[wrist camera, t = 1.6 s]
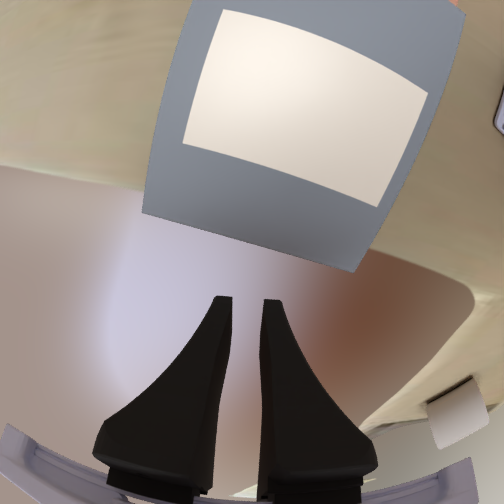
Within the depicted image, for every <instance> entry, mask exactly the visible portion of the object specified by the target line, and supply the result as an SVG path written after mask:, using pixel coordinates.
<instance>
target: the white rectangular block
mask: <svg viewBox="0 0 504 504" xmlns="http://www.w3.org/2000/svg"><path fill="white" fill-rule="evenodd" d="M427 95H428V93H427V92H425V91H424V90H422V89H421V88H419V87H418V86H416V85H415V84H413V83H412V82H410V81H409V80H407V79H405V78H404V77H402V76H400V75H399V74H397V73H395V72H393V71H392V70H390V69H388V68H386V67H385V66H383V65H381V64H379V63H377V62H375V61H373V60H371V59H369V58H368V57H366V56H364V55H361V54H359V53H357V52H355V51H353V50H351V49H349V48H347V47H344V46H342V45H340V44H337V43H335V42H333V41H330V40H328V39H325V38H323V37H320V36H318V35H315V34H312V33H310V32H307V31H304V30H301V29H298V28H295V27H292V26H289V25H286V24H283V23H279V22H276V21H272V20H269V19H265V18H261V17H257V16H253V15H249V14H245V13H240V12H235V11H230V10H225V9H223V12H222V14H221V17H220V19H219V22H218V25H217V28H216V30H215V33H214V36H213V39H212V42H211V45H210V48H209V51H208V54H207V57H206V60H205V63H204V66H203V69H202V72H201V76H200V79H199V82H198V86H197V89H196V93H195V96H194V100H193V103H192V107H191V111H190V115H189V118H188V122H187V126H186V130H185V134H184V139H183V144H188V145H192V146H196V147H200V148H203V149H207V150H211V151H215V152H218V153H222V154H226V155H229V156H233V157H236V158H240V159H243V160H246V161H250V162H253V163H256V164H260V165H263V166H266V167H269V168H272V169H275V170H278V171H281V172H285V173H287V174H290V175H293V176H296V177H299V178H302V179H305V180H308V181H311V182H313V183H316V184H319V185H322V186H324V187H327V188H330V189H332V190H335V191H338V192H340V193H343V194H345V195H348V196H350V197H353V198H356V199H358V200H360V201H363V202H365V203H368V204H370V205H373V206H375V207H377V206H378V204H379V202H380V200H381V198H382V196H383V194H384V192H385V190H386V188H387V186H388V184H389V182H390V180H391V178H392V176H393V174H394V172H395V170H396V168H397V166H398V163H399V161H400V159H401V157H402V155H403V153H404V150H405V148H406V146H407V144H408V141H409V139H410V137H411V134H412V132H413V130H414V127H415V125H416V123H417V120H418V118H419V115H420V113H421V110H422V108H423V105H424V103H425V100H426V97H427Z"/></svg>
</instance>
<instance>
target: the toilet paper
mask: <svg viewBox="0 0 504 504" xmlns="http://www.w3.org/2000/svg"><path fill="white" fill-rule="evenodd" d="M426 410H427V415H428V420H429V424H430V427H431V431H432V434H433V437H434V439H435V442H436V445H437V447H438V448H439V449H443V448H445V447H447V446H449V445H451V444H453V443H455V442H457V441H459V440H461V439H463V438H465V437H466V436H468V435H470V434H472V433H474V432H475V431H477V430H479V429H480V428H482V427H484V426H485V425H487V424H489V417H488V413H487V410H486V406H485V403H484V400H483V398H482V395H481V392H480V390H479V387H478V385H477V383H476V381H475V379H474V378H472V379H471V380H469V381H467V382H466V383H464V384H463V385H461V386H459V387H458V388H456V389H454V390H453V391H451V392H449V393H447V394H446V395H444V396H442V397H440V398H438V399H437V400H435V401H433V402H431V403H429V404H427V405H426Z"/></svg>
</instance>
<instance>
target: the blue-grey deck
mask: <svg viewBox="0 0 504 504" xmlns="http://www.w3.org/2000/svg"><path fill="white" fill-rule="evenodd" d="M223 9H225V10H230V11H235V12H240V13H245V14H249V15H253V16H257V17H261V18H265V19H269V20H272V21H276V22H279V23H283V24H286V25H289V26H292V27H295V28H298V29H301V30H304V31H307V32H310V33H312V34H315V35H318V36H320V37H323V38H325V39H328V40H330V41H333V42H335V43H337V44H340V45H342V46H344V47H347V48H349V49H351V50H353V51H355V52H357V53H359V54H361V55H364V56H366V57H368V58H369V59H371V60H373V61H375V62H377V63H379V64H381V65H383V66H385V67H386V68H388V69H390V70H392V71H393V72H395V73H397V74H399V75H400V76H402V77H404V78H405V79H407V80H409V81H410V82H412V83H413V84H415V85H416V86H418V87H419V88H421V89H422V90H424V91H425V92H427V93H428V95H427V97H426V100H425V103H424V105H423V108H422V110H421V113H420V115H419V118H418V120H417V123H416V125H415V127H414V130H413V132H412V134H411V137H410V139H409V141H408V144H407V146H406V148H405V150H404V153H403V155H402V157H401V159H400V161H399V163H398V166H397V168H396V170H395V172H394V174H393V176H392V178H391V180H390V182H389V184H388V186H387V188H386V190H385V192H384V194H383V196H382V198H381V200H380V202H379V204H378V206H377V207H375V206H373V205H370V204H368V203H365V202H363V201H360V200H358V199H356V198H353V197H350V196H348V195H345V194H343V193H340V192H338V191H335V190H332V189H330V188H327V187H324V186H322V185H319V184H316V183H313V182H311V181H308V180H305V179H302V178H299V177H296V176H293V175H290V174H287V173H285V172H281V171H278V170H275V169H272V168H269V167H266V166H263V165H260V164H256V163H253V162H250V161H246V160H243V159H240V158H236V157H233V156H229V155H226V154H222V153H218V152H215V151H211V150H207V149H203V148H200V147H196V146H192V145H188V144H183V139H184V134H185V130H186V126H187V122H188V118H189V115H190V111H191V107H192V103H193V100H194V96H195V93H196V89H197V86H198V82H199V79H200V76H201V72H202V69H203V66H204V63H205V60H206V57H207V54H208V51H209V48H210V45H211V42H212V39H213V36H214V33H215V30H216V28H217V25H218V22H219V19H220V17H221V14H222V12H223ZM465 17H466V14H465V13H464V12H462V11H461V10H460V9H459V8H458V7H456V6H455V5H454V4H453V3H451V2H450V1H449V0H193V1H192V4H191V6H190V9H189V12H188V14H187V17H186V20H185V23H184V26H183V28H182V31H181V34H180V37H179V40H178V43H177V46H176V50H175V53H174V56H173V60H172V63H171V66H170V70H169V73H168V77H167V81H166V85H165V88H164V92H163V96H162V100H161V105H160V109H159V113H158V118H157V122H156V127H155V132H154V137H153V142H152V147H151V153H150V159H149V164H148V171H147V177H146V184H145V191H144V199H143V206H142V213H144V214H148V215H152V216H155V217H159V218H163V219H166V220H169V221H173V222H177V223H180V224H184V225H187V226H191V227H194V228H198V229H201V230H205V231H209V232H212V233H216V234H220V235H223V236H226V237H230V238H234V239H237V240H240V241H244V242H247V243H251V244H255V245H258V246H261V247H265V248H268V249H272V250H275V251H279V252H282V253H286V254H289V255H293V256H296V257H300V258H303V259H307V260H310V261H313V262H317V263H320V264H324V265H327V266H331V267H334V268H337V269H341V270H344V271H348V272H351V273H354V271H355V270H356V268H357V267H358V265H359V263H360V262H361V260H362V259H363V257H364V255H365V254H366V252H367V250H368V248H369V247H370V245H371V243H372V242H373V240H374V238H375V236H376V235H377V233H378V231H379V229H380V228H381V226H382V224H383V222H384V220H385V218H386V217H387V215H388V213H389V211H390V209H391V207H392V205H393V204H394V202H395V200H396V198H397V196H398V194H399V192H400V190H401V188H402V186H403V184H404V182H405V180H406V178H407V176H408V174H409V172H410V170H411V168H412V165H413V163H414V161H415V159H416V157H417V155H418V152H419V150H420V148H421V146H422V144H423V141H424V139H425V137H426V134H427V132H428V130H429V127H430V125H431V122H432V120H433V117H434V115H435V112H436V110H437V107H438V105H439V102H440V99H441V97H442V94H443V91H444V88H445V85H446V83H447V80H448V77H449V74H450V71H451V68H452V64H453V61H454V58H455V55H456V51H457V48H458V44H459V41H460V37H461V33H462V29H463V25H464V21H465Z"/></svg>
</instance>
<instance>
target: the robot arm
mask: <svg viewBox="0 0 504 504" xmlns="http://www.w3.org/2000/svg"><path fill="white" fill-rule="evenodd" d="M502 125H503V128H502ZM495 126H496V128H497V129H498V130H499V131H500V132H501V133H502V134H503V135H504V92H503V96H502V99H501V102H500V105H499V109H498V112H497V115H496V117H495ZM231 336H232V297H228V296H216V297H214V299H213V302H212V304H211V306H210V308H209V310H208V312H207V313H206V315H205V317H204V319H203V320H202V322H201V324H200V325H199V327H198V328H197V330H196V331H195V333H194V334H193V336H192V338H191V339H190V340H189V341H188V343H187V344H186V346H185V347H184V348H183V350H182V351H181V352H180V354H179V355H178V356H177V357H176V358H175V360H174V361H173V362H172V363H171V365H170V366H169V367H168V368H167V369H166V370H165V371H164V372H163V373H162V374H161V375H160V376H159V377H158V378H157V379H156V380H155V381H154V382H153V383H152V384H151V385H150V386H149V387H148V388H147V389H146V390H145V391H143V392H142V393H141V394H140V395H139V396H138V397H136V398H135V399H134V400H133V401H132V402H130V403H129V404H128V405H127V406H125V407H124V408H122V409H121V410H120V411H118V412H117V413H115V414H114V415H112V416H111V417H109V418H108V419H107V420H105V421H104V423H103V425H102V426H101V428H100V431H99V433H98V435H97V438H96V441H95V445H94V448H93V452H92V454H93V456H94V457H95V458H96V459H98V460H99V461H101V462H102V463H104V464H106V465H108V466H109V467H110V469H109V473H108V474H105V473H103V472H100V471H97V470H95V469H92V468H89V467H87V466H84V465H82V464H80V463H77V462H75V461H73V460H71V459H68V458H66V457H64V456H62V455H60V454H58V453H56V452H54V451H52V450H50V449H48V448H46V447H44V446H42V445H40V444H39V443H37V442H36V441H35V440H33V439H32V438H31V437H29V436H28V435H26V434H24V433H23V432H21V431H19V430H18V429H16V428H14V427H13V426H12V425H10V424H6V427H5V429H4V432H3V435H2V437H1V441H0V474H2V475H3V476H4V477H6V478H7V479H8V480H9V481H11V482H12V483H13V484H15V485H16V486H17V487H19V488H20V489H21V490H22V491H24V492H25V493H26V494H28V495H29V496H30V497H32V498H33V499H34V500H36V501H37V502H38V503H40V504H135V503H131V502H129V501H128V499H127V497H126V496H125V495H127V496H130V497H133V498H136V499H140V500H144V501H147V502H151V503H155V504H478V502H479V499H478V492H477V486H476V480H475V475H474V470H473V465H472V461H471V458H470V457H468V458H466V459H464V460H461V461H459V462H457V463H454V464H452V465H450V466H448V467H446V468H444V469H441V470H440V471H438V472H436V473H434V474H431V475H428V476H425V477H422V478H419V479H416V480H413V481H410V482H406V483H403V484H399V485H396V486H392V487H388V488H384V489H380V490H375V491H371V492H366V493H361V487H360V486H362V485H363V476H364V475H366V474H368V473H370V472H372V471H374V470H375V469H376V468H377V467H378V461H377V456H376V452H375V449H374V446H373V443H372V441H371V440H370V439H369V438H368V437H367V436H366V435H365V434H364V433H363V432H361V431H360V430H359V429H358V428H357V427H356V426H355V425H354V424H353V423H352V421H351V420H350V419H349V418H348V417H347V416H346V415H345V414H344V413H343V412H342V410H341V409H340V408H339V407H338V406H337V404H336V403H335V402H334V401H333V399H332V398H331V397H330V396H329V394H328V393H327V392H326V390H325V389H324V388H323V386H322V385H321V383H320V382H319V380H318V379H317V377H316V376H315V374H314V373H313V371H312V369H311V368H310V366H309V364H308V362H307V361H306V359H305V357H304V355H303V353H302V351H301V349H300V347H299V346H298V343H297V341H296V339H295V337H294V335H293V333H292V330H291V328H290V325H289V323H288V320H287V317H286V314H285V311H284V308H283V305H282V302H281V301H280V300H272V299H271V300H270V299H264V305H263V314H262V322H261V331H260V351H259V359H260V375H261V393H262V425H261V443H260V459H259V474H258V486H257V502H250V501H233V500H221V499H212V498H204V497H200V494H204V495H207V493H208V490H209V489H211V488H212V486H213V469H214V457H215V443H216V433H217V422H218V412H219V404H220V398H221V393H222V388H223V384H224V379H225V374H226V369H227V365H228V360H229V354H230V346H231Z"/></svg>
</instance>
